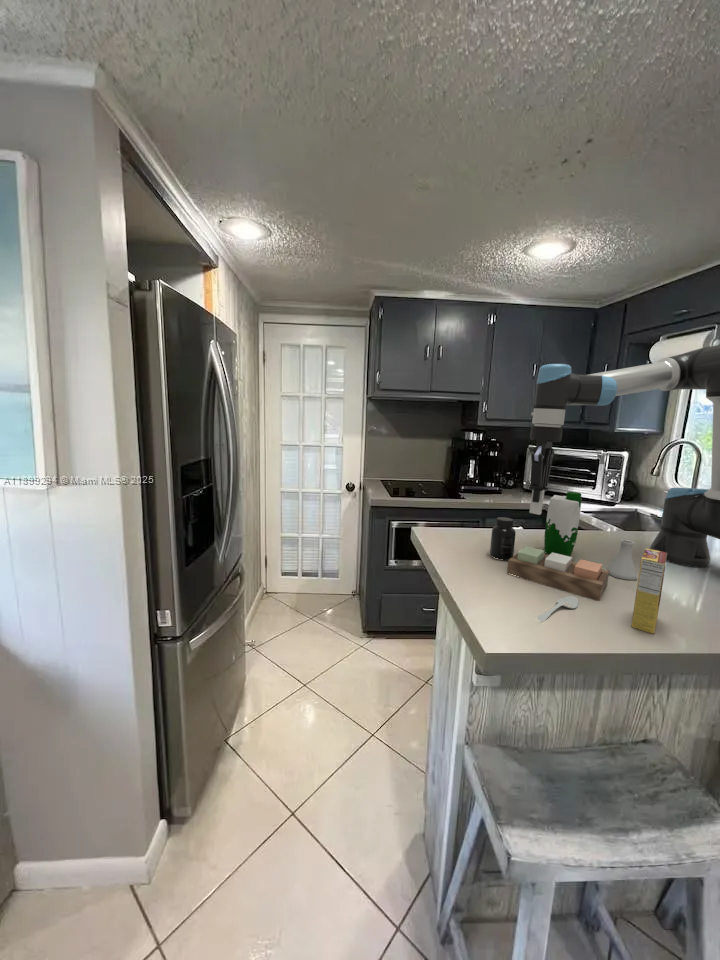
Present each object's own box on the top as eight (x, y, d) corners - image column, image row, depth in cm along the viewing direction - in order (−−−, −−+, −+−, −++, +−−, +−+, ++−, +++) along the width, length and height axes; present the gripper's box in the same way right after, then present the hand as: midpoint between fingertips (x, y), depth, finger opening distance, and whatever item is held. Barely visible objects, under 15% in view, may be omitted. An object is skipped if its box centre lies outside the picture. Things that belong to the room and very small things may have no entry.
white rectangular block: (570, 571, 106) (572, 557, 105) (564, 579, 100) (566, 564, 100) (550, 566, 109) (552, 552, 108) (543, 573, 104) (545, 558, 103)
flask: (642, 582, 106) (648, 547, 104) (612, 579, 107) (618, 544, 105) (629, 572, 113) (635, 538, 111) (602, 569, 114) (607, 536, 112)
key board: (607, 585, 103) (609, 570, 102) (599, 600, 94) (601, 584, 93) (521, 562, 116) (522, 549, 116) (506, 573, 107) (508, 559, 107)
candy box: (633, 611, 89) (645, 547, 86) (657, 618, 86) (669, 552, 84) (628, 626, 82) (640, 557, 80) (654, 635, 79) (667, 563, 77)
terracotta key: (600, 579, 101) (602, 564, 101) (595, 587, 96) (597, 572, 95) (578, 573, 105) (580, 559, 104) (572, 581, 99) (574, 566, 98)
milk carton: (571, 559, 120) (580, 496, 117) (540, 552, 125) (548, 491, 122) (575, 552, 127) (584, 492, 124) (545, 545, 133) (553, 487, 129)
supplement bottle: (515, 556, 121) (519, 518, 119) (510, 562, 116) (514, 523, 113) (492, 551, 125) (496, 514, 123) (486, 557, 119) (490, 519, 117)
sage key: (542, 564, 110) (544, 550, 109) (535, 571, 105) (537, 556, 104) (524, 559, 113) (526, 546, 113) (516, 565, 108) (518, 552, 107)
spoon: (583, 606, 91) (584, 599, 91) (536, 633, 79) (537, 625, 79) (565, 599, 95) (565, 592, 94) (517, 623, 82) (518, 616, 82)
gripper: (539, 425, 110) (528, 507, 114) (524, 424, 100) (513, 514, 104) (568, 426, 105) (556, 512, 109) (556, 426, 95) (543, 520, 99)
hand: (535, 513), depth 106 cm, fingers closed
